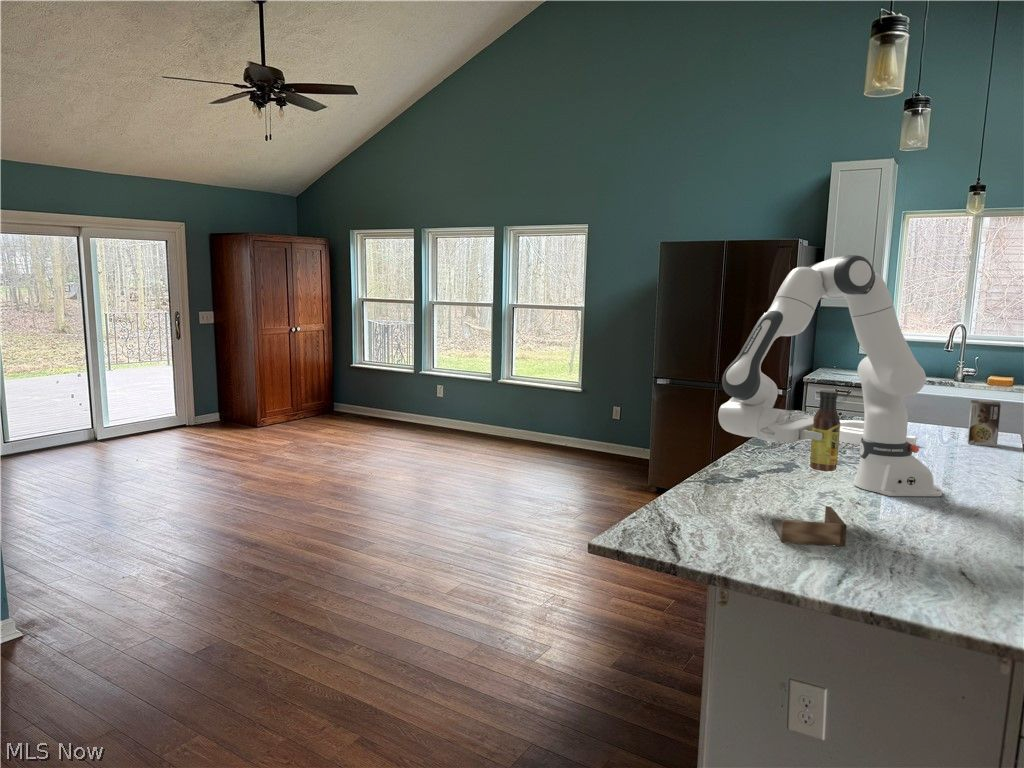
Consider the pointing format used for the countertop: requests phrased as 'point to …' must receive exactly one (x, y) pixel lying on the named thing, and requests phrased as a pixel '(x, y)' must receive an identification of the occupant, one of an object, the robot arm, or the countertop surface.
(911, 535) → the countertop surface
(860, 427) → the ring with crossbar
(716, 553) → the countertop surface
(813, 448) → the sauce bottle
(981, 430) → the food box
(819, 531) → the corner arena
